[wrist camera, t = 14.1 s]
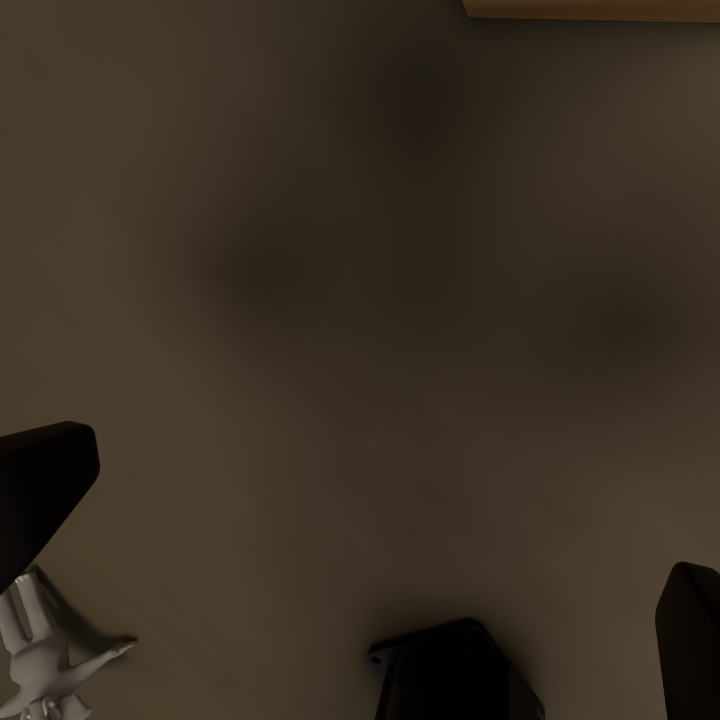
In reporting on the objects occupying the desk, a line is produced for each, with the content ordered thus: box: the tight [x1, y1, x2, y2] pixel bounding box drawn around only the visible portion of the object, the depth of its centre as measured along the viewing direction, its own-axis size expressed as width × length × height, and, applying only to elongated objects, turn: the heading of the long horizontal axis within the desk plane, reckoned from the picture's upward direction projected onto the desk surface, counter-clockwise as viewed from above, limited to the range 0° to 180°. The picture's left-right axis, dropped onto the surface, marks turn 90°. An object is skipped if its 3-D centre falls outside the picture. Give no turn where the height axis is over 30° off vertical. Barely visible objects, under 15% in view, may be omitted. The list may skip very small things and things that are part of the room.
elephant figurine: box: [0, 572, 135, 720], centre depth 30 cm, size 10×6×9 cm
